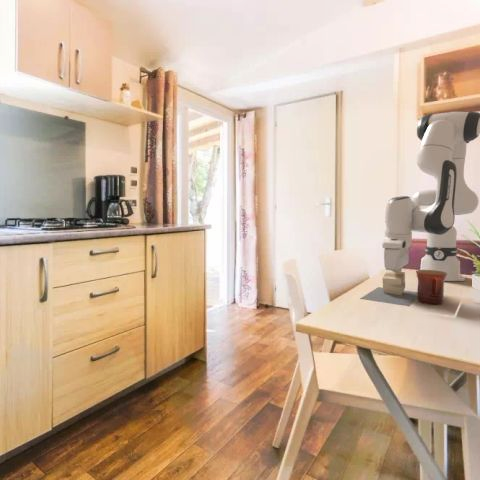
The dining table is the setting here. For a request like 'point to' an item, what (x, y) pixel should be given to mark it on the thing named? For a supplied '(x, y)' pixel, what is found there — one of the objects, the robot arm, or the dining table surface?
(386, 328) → the dining table surface
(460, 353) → the dining table surface
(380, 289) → the mat
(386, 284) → the letter block
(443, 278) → the mug
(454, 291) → the dining table surface
